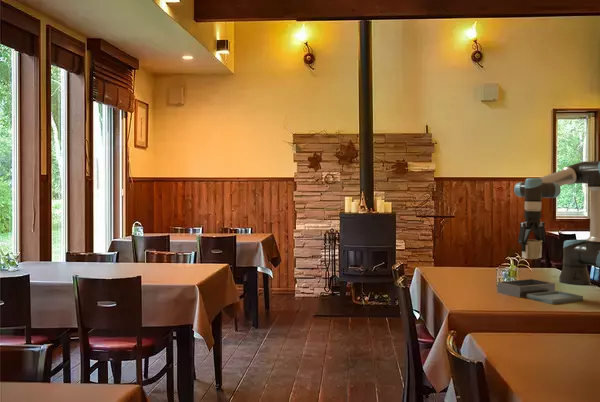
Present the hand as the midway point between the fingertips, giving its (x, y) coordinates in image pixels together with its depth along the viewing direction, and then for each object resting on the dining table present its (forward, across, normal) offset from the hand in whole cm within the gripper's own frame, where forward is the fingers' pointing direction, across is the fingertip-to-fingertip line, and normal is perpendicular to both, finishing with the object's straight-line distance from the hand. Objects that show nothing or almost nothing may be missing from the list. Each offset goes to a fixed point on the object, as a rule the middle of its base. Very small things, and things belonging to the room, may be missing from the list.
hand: (531, 257), depth 272 cm
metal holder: (+17, 0, -3) cm, 18 cm away
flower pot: (+1, 0, 0) cm, 1 cm away
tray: (+17, 0, +13) cm, 22 cm away
